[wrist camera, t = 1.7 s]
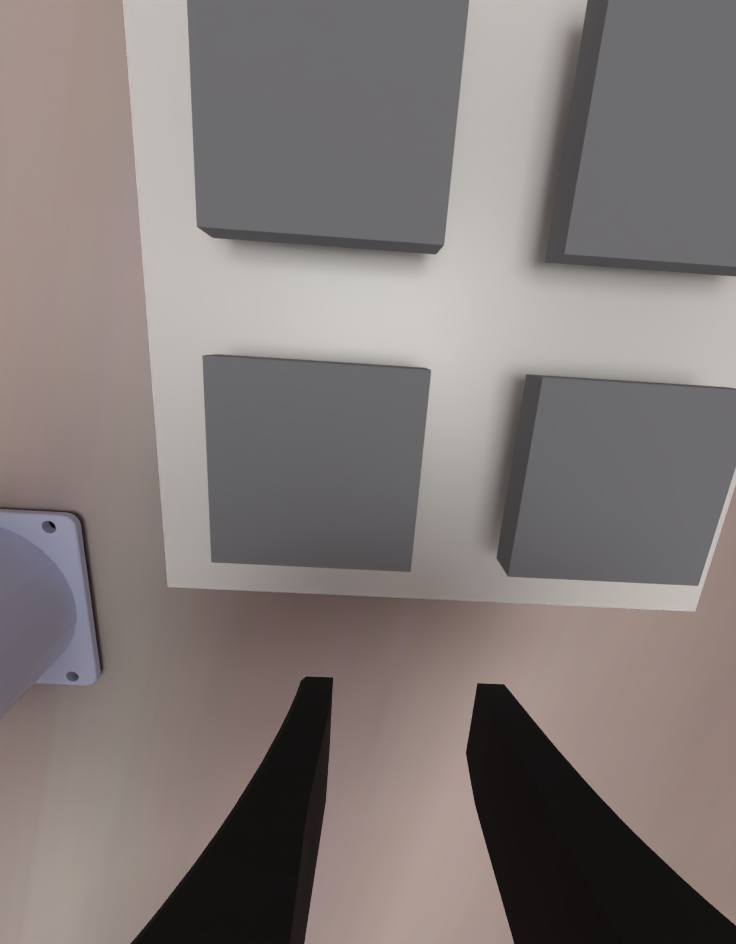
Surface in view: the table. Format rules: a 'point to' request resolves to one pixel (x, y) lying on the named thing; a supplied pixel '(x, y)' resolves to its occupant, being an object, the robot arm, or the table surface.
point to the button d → (651, 140)
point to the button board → (412, 313)
